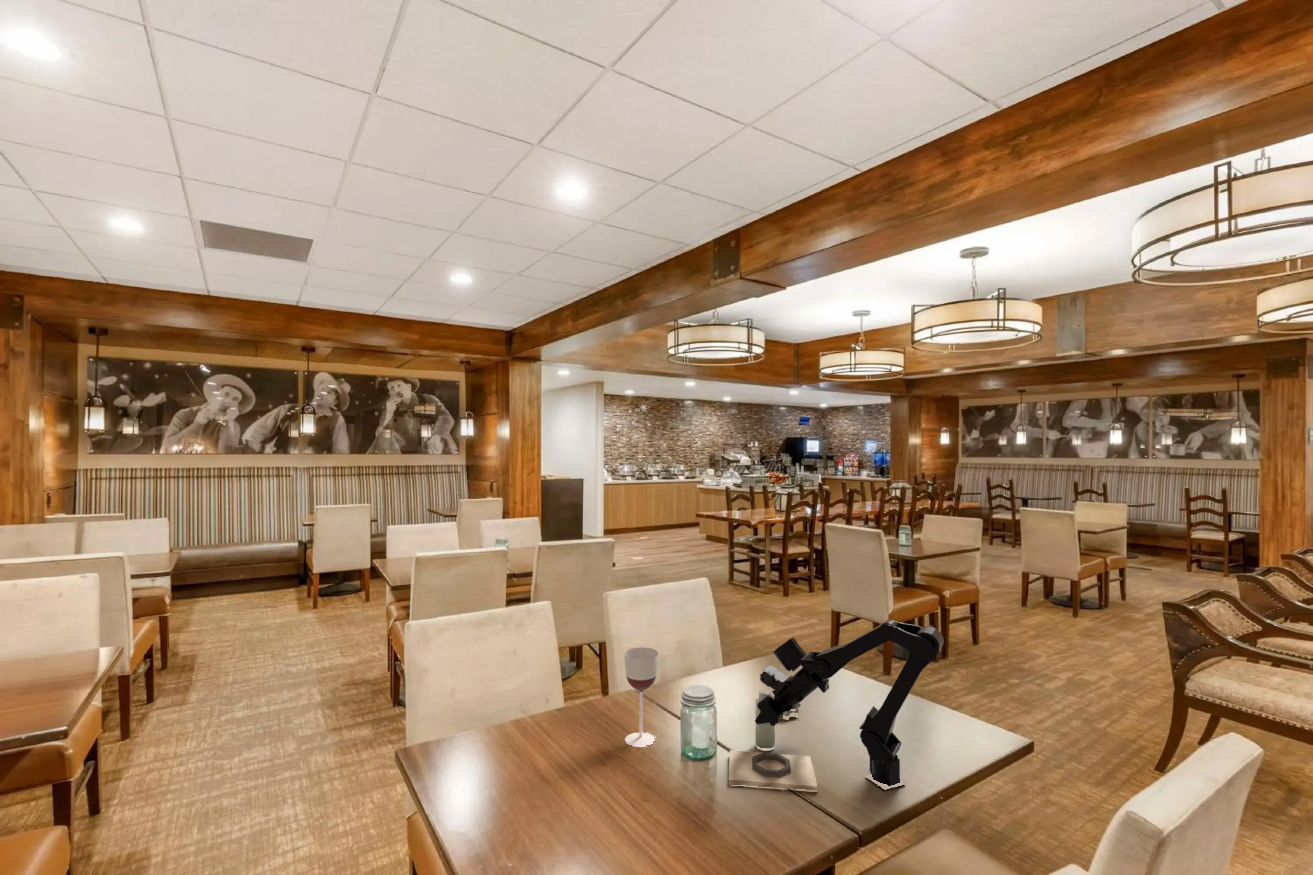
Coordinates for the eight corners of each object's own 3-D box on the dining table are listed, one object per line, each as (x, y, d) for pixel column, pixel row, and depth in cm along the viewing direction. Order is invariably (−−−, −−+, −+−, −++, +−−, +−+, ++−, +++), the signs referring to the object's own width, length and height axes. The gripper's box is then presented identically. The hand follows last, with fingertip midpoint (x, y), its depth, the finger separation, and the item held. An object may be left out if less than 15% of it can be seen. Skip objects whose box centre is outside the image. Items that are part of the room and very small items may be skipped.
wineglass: (659, 731, 166) (659, 647, 167) (655, 749, 156) (656, 659, 157) (626, 730, 167) (627, 646, 168) (621, 747, 157) (621, 658, 158)
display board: (810, 762, 150) (810, 751, 150) (817, 792, 136) (817, 780, 136) (729, 756, 153) (729, 745, 153) (728, 785, 139) (728, 773, 139)
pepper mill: (778, 749, 156) (778, 695, 157) (762, 752, 154) (762, 697, 155) (768, 741, 161) (768, 688, 161) (751, 744, 159) (752, 690, 160)
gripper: (792, 649, 164) (755, 681, 170) (764, 668, 149) (724, 703, 154) (820, 684, 159) (781, 716, 165) (795, 708, 144) (752, 742, 150)
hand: (760, 718), depth 159 cm, fingers closed on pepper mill, 5 cm apart
